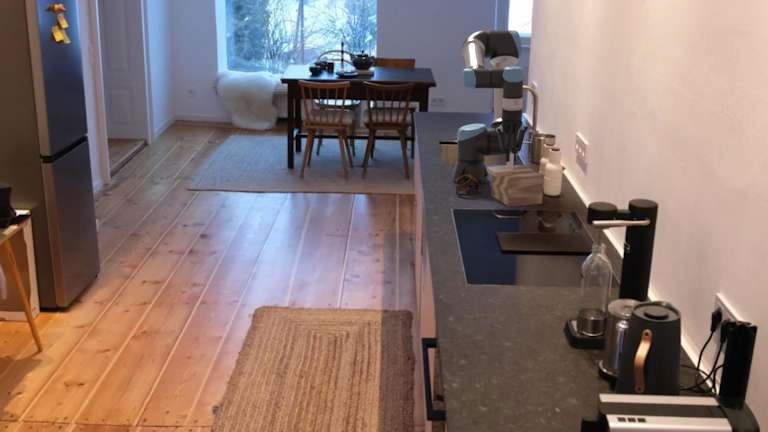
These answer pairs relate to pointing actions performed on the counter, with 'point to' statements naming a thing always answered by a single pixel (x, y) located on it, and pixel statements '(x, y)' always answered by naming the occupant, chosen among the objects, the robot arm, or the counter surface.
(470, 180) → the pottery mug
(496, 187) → the oak block
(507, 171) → the tile
